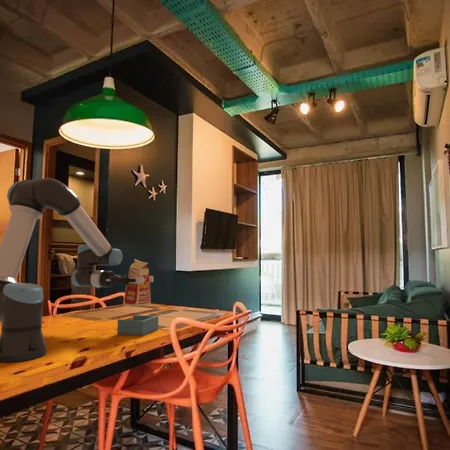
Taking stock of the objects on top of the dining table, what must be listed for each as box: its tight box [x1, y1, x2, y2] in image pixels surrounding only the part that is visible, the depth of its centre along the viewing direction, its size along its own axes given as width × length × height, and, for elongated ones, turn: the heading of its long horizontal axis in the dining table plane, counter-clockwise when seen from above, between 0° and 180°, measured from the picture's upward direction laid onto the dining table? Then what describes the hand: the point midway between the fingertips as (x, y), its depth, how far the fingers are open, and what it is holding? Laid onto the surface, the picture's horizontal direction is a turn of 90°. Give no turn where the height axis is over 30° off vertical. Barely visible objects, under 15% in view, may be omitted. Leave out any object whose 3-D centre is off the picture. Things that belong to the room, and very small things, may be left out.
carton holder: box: [116, 314, 159, 337], centre depth 153 cm, size 12×13×6 cm
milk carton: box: [122, 258, 152, 307], centre depth 156 cm, size 9×9×20 cm
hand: (148, 279), depth 154 cm, fingers closed on milk carton, 8 cm apart
